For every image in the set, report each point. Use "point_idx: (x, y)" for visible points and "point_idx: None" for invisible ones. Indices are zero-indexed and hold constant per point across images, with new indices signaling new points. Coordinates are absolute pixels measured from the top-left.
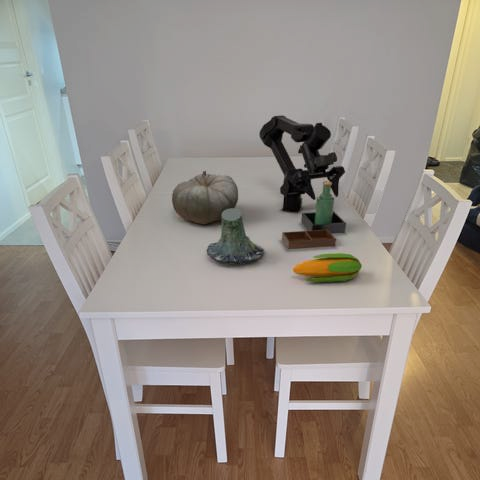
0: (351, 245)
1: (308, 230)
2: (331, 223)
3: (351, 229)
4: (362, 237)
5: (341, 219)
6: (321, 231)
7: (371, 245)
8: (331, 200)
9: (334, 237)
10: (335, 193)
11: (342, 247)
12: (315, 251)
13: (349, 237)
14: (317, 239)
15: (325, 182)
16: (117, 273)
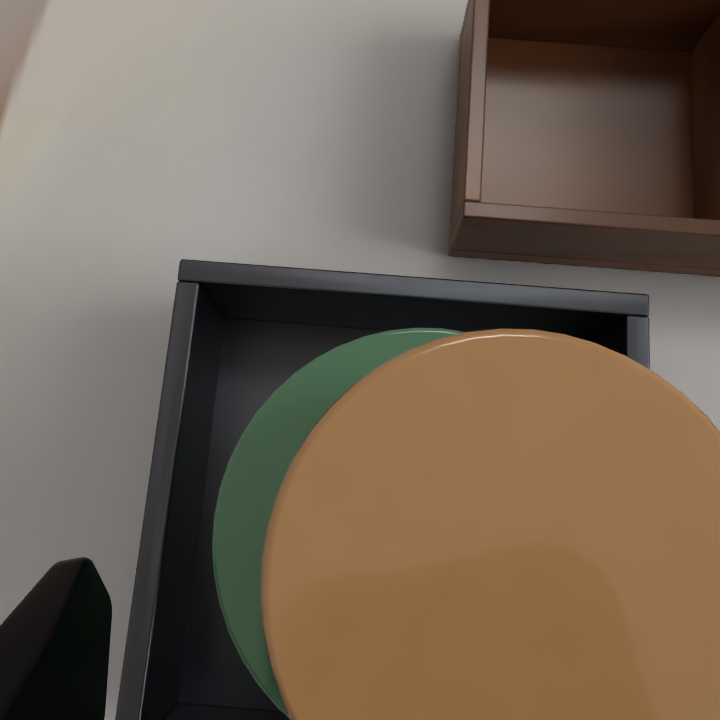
0: (283, 47)
1: None
2: (378, 288)
3: (64, 417)
4: (74, 189)
5: (175, 397)
6: (542, 212)
7: (100, 8)
8: (356, 349)
9: (477, 1)
10: (85, 665)
11: (387, 28)
12: None
13: (205, 219)
14: (578, 198)
15: (647, 588)
16: None
